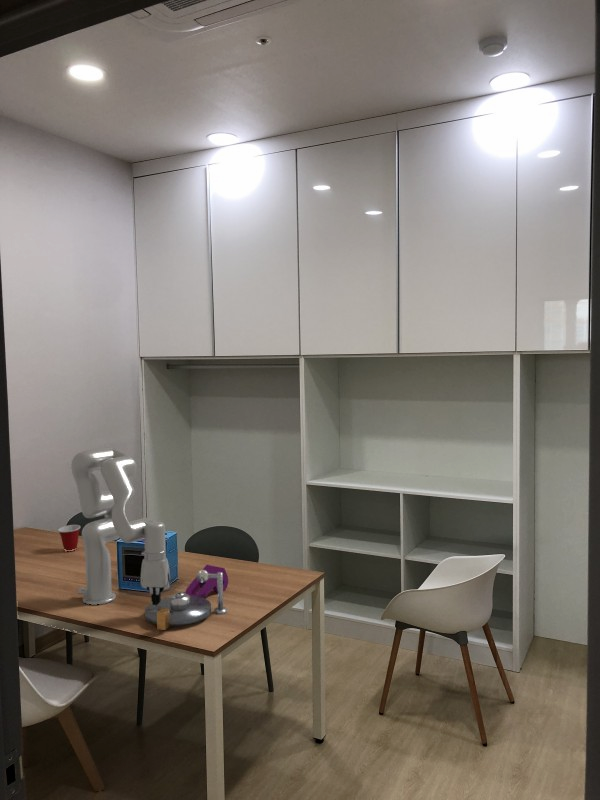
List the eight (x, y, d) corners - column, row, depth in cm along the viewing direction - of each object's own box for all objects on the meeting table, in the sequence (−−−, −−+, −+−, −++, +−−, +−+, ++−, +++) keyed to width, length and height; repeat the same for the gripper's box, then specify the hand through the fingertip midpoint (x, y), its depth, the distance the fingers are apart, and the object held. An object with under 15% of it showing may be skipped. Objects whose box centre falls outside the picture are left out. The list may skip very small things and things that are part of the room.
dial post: (196, 612, 241) (195, 571, 240) (201, 607, 246) (200, 567, 245) (224, 614, 239) (224, 573, 238) (229, 609, 244) (228, 568, 243)
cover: (167, 610, 235) (166, 596, 235) (175, 603, 242) (175, 589, 241) (184, 611, 233) (184, 597, 233) (192, 604, 240) (192, 590, 240)
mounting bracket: (205, 615, 254) (230, 583, 267) (199, 599, 250) (224, 568, 264) (187, 610, 259) (212, 579, 272) (180, 595, 255) (206, 564, 268)
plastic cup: (54, 551, 323) (53, 528, 323) (73, 546, 332) (72, 523, 331) (66, 555, 317) (65, 531, 316) (85, 549, 325) (85, 526, 325)
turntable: (129, 627, 225) (128, 610, 225) (161, 598, 252) (161, 583, 251) (194, 632, 220) (193, 614, 220) (219, 602, 247) (219, 587, 247)
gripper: (131, 557, 236) (133, 606, 237) (170, 559, 233) (171, 609, 234) (140, 551, 243) (141, 598, 244) (178, 553, 240) (178, 601, 242)
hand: (156, 603), depth 239 cm, fingers closed
